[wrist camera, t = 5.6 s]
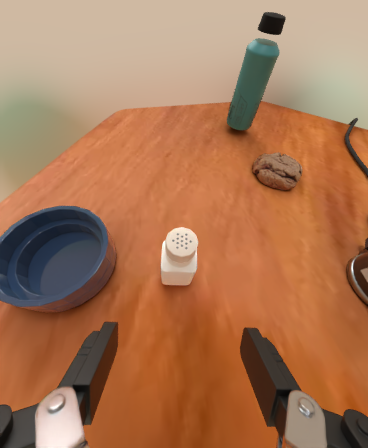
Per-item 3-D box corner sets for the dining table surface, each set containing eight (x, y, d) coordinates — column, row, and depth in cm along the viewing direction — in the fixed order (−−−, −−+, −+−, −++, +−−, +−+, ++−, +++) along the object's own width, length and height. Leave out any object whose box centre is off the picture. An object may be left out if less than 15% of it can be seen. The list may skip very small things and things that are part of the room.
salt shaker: (161, 285, 24) (159, 259, 16) (163, 257, 26) (162, 222, 18) (190, 286, 24) (203, 261, 16) (190, 258, 27) (201, 224, 19)
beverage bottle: (253, 134, 46) (303, 19, 30) (231, 138, 45) (272, 17, 28) (239, 121, 49) (278, 9, 33) (219, 124, 48) (249, 7, 31)
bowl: (77, 212, 29) (62, 191, 25) (135, 254, 26) (129, 238, 22) (-3, 273, 23) (-40, 259, 19) (60, 336, 20) (33, 335, 16)
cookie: (306, 176, 39) (316, 165, 37) (281, 199, 35) (291, 188, 32) (269, 152, 43) (275, 141, 40) (242, 170, 38) (247, 158, 36)
